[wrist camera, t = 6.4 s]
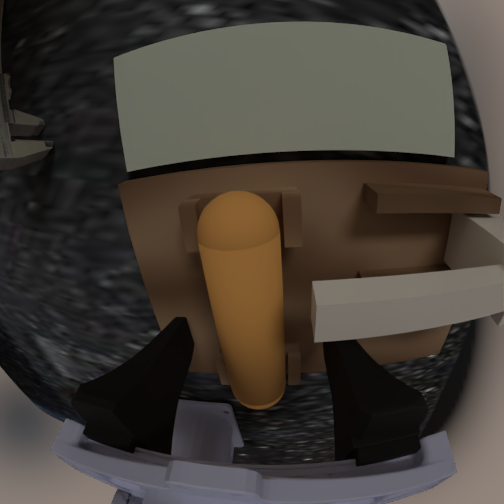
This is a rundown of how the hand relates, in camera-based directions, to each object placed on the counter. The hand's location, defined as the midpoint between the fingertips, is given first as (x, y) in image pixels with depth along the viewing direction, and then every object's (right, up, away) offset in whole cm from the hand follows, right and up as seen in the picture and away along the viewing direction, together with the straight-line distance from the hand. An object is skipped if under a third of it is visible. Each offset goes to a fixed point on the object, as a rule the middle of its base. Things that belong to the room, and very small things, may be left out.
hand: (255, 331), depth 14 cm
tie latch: (+8, +5, -2) cm, 9 cm away
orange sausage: (0, +1, 0) cm, 2 cm away
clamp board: (+3, +2, +1) cm, 4 cm away
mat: (+2, +11, -4) cm, 12 cm away
